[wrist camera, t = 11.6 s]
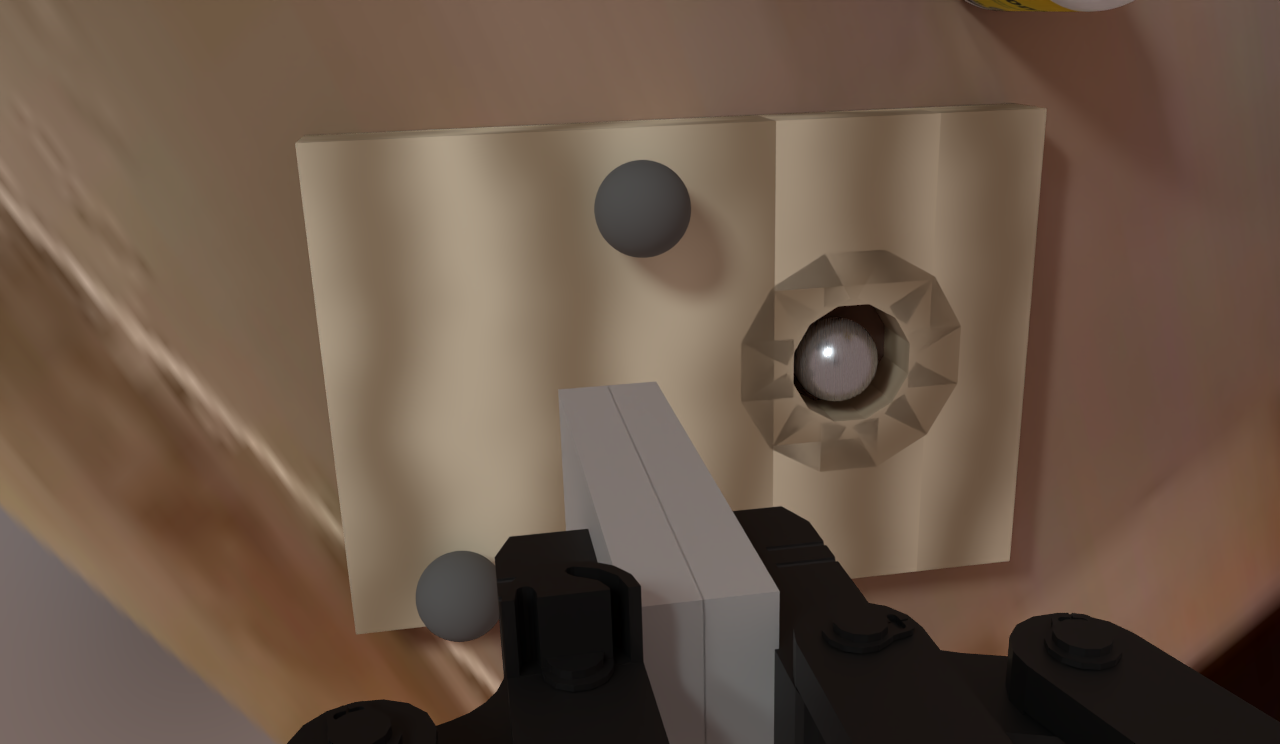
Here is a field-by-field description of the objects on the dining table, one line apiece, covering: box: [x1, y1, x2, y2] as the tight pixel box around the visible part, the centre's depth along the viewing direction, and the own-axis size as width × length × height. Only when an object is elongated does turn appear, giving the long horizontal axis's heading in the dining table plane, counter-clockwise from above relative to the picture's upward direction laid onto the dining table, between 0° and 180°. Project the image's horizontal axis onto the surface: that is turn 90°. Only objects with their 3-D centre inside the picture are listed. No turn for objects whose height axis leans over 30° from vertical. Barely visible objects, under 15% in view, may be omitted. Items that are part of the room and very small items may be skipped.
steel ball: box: [794, 317, 878, 401], centre depth 42 cm, size 3×3×3 cm
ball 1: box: [416, 551, 499, 642], centre depth 40 cm, size 3×3×3 cm
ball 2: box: [594, 160, 691, 258], centre depth 36 cm, size 3×3×3 cm
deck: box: [295, 103, 1047, 634], centre depth 41 cm, size 26×18×2 cm
